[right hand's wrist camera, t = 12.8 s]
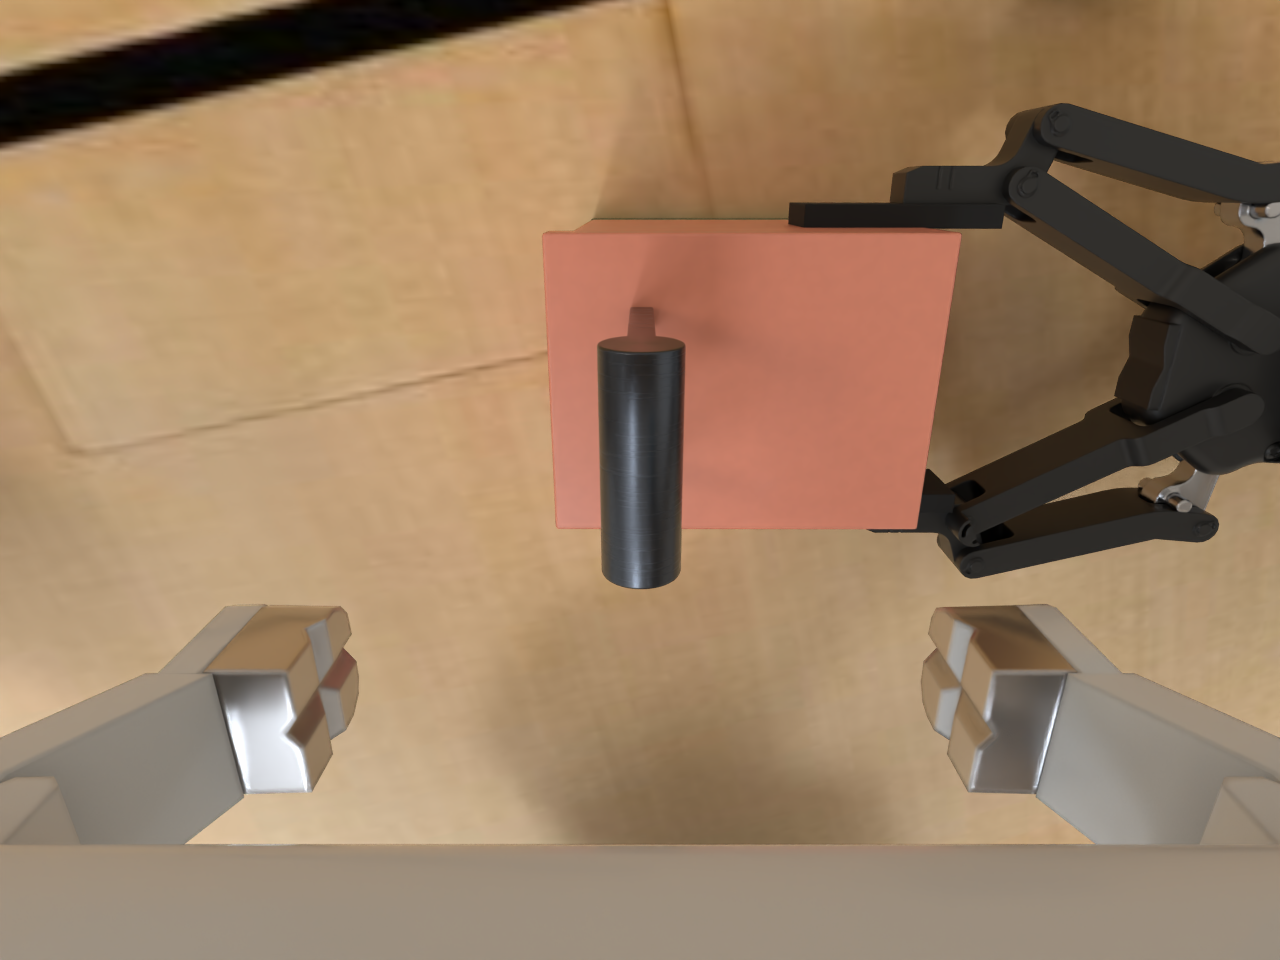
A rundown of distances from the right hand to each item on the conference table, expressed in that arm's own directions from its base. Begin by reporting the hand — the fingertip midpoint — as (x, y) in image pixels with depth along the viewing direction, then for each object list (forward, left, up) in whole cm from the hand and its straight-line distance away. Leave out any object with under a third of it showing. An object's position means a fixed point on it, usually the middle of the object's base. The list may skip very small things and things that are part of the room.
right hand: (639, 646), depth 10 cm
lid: (+2, +2, -15) cm, 15 cm away
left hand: (+3, +4, -18) cm, 19 cm away
